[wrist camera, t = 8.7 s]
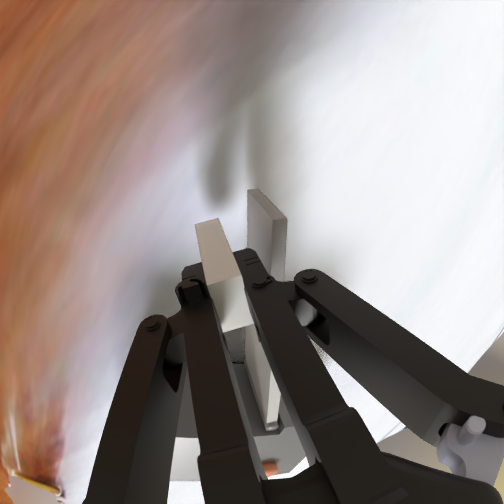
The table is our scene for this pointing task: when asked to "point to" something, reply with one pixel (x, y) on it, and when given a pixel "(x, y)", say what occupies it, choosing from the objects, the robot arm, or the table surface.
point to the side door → (273, 258)
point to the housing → (268, 442)
